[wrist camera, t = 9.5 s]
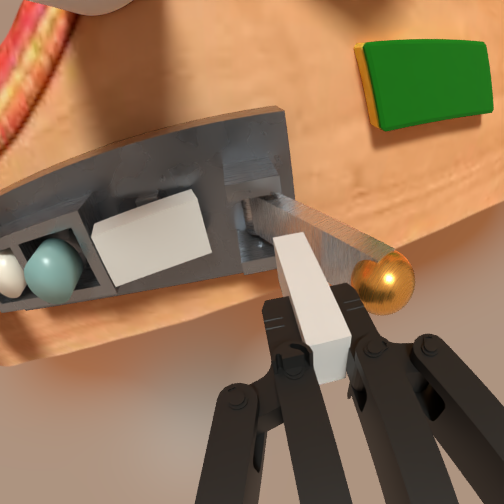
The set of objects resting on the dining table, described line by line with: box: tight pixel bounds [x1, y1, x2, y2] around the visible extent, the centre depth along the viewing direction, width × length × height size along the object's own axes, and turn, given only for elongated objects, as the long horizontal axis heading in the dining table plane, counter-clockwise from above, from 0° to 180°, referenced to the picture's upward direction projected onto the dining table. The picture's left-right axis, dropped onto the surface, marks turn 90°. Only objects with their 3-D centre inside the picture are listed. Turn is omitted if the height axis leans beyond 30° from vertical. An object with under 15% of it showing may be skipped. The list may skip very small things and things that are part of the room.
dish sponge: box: [354, 39, 494, 131], centre depth 19 cm, size 7×14×2 cm, turn 107°
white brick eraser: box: [91, 189, 212, 287], centre depth 19 cm, size 7×4×2 cm, turn 100°
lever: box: [241, 193, 415, 315], centre depth 16 cm, size 3×3×13 cm
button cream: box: [0, 248, 27, 298], centre depth 20 cm, size 4×4×2 cm
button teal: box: [24, 238, 83, 304], centre depth 18 cm, size 4×4×2 cm
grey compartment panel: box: [0, 106, 295, 313], centre depth 21 cm, size 28×12×7 cm, turn 99°
